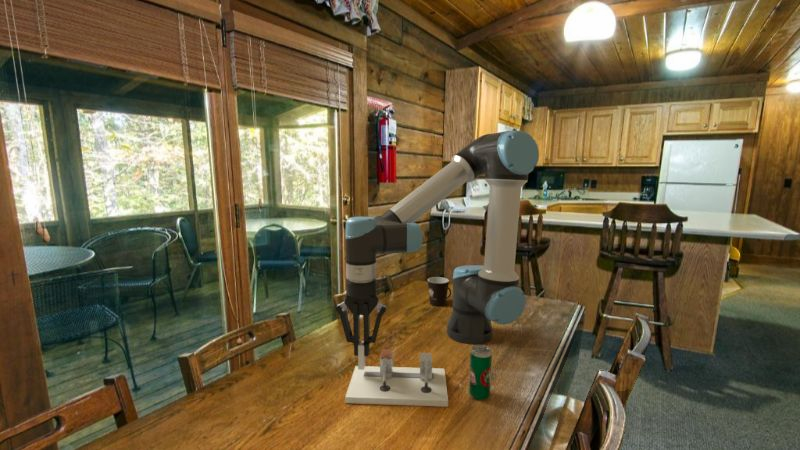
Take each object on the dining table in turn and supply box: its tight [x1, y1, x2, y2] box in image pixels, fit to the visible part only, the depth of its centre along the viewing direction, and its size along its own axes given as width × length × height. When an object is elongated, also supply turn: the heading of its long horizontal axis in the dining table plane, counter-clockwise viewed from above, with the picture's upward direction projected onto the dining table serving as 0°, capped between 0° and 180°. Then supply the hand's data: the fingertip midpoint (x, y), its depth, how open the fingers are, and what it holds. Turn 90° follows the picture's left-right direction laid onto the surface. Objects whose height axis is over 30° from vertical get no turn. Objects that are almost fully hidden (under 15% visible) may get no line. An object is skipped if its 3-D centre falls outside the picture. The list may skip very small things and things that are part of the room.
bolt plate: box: [344, 365, 449, 408], centre depth 93 cm, size 24×14×2 cm, turn 87°
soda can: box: [468, 344, 493, 401], centre depth 89 cm, size 5×5×12 cm
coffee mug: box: [427, 276, 452, 308], centre depth 149 cm, size 12×9×10 cm
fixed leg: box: [419, 352, 433, 389], centre depth 93 cm, size 3×8×6 cm, turn 177°
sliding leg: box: [379, 348, 394, 387], centre depth 93 cm, size 3×8×6 cm, turn 177°
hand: (361, 366), depth 96 cm, fingers closed
